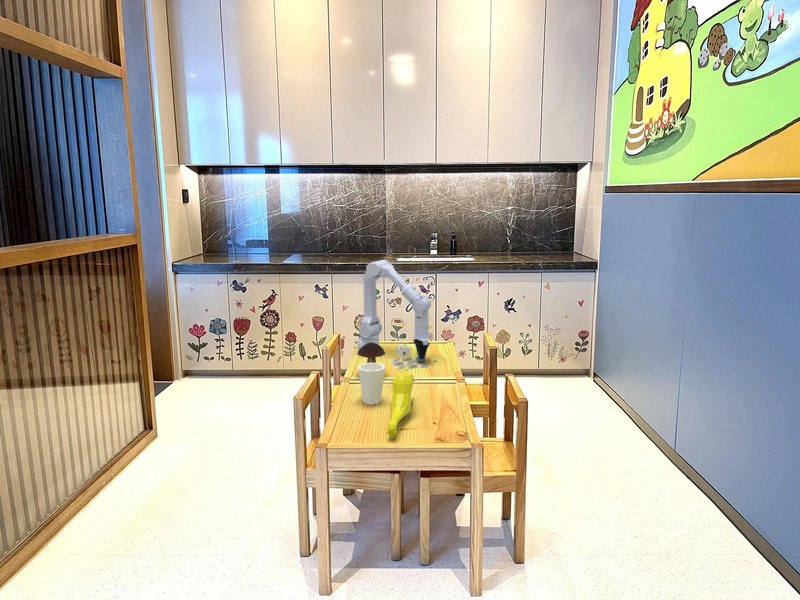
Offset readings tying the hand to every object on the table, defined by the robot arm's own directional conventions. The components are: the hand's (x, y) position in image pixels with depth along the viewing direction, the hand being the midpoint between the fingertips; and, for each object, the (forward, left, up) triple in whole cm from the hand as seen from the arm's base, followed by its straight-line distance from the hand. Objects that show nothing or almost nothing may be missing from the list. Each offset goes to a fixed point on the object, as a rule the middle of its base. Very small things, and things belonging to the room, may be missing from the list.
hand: (421, 356), depth 244 cm
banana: (-21, -53, -4) cm, 57 cm away
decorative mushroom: (-24, -13, -4) cm, 28 cm away
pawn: (0, 0, -1) cm, 1 cm away
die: (-5, +13, -4) cm, 14 cm away
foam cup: (-28, -37, -4) cm, 47 cm away
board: (-5, 0, -4) cm, 6 cm away
